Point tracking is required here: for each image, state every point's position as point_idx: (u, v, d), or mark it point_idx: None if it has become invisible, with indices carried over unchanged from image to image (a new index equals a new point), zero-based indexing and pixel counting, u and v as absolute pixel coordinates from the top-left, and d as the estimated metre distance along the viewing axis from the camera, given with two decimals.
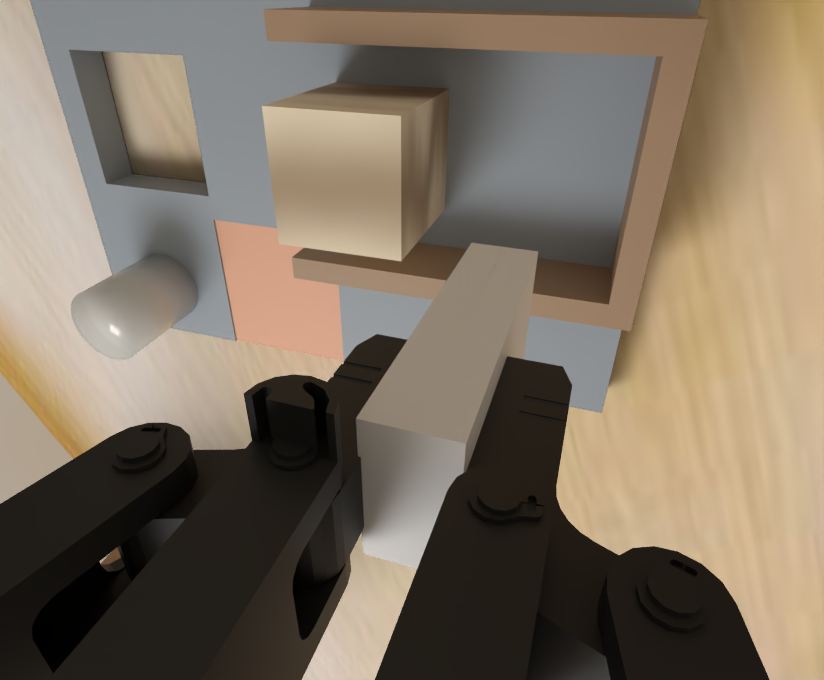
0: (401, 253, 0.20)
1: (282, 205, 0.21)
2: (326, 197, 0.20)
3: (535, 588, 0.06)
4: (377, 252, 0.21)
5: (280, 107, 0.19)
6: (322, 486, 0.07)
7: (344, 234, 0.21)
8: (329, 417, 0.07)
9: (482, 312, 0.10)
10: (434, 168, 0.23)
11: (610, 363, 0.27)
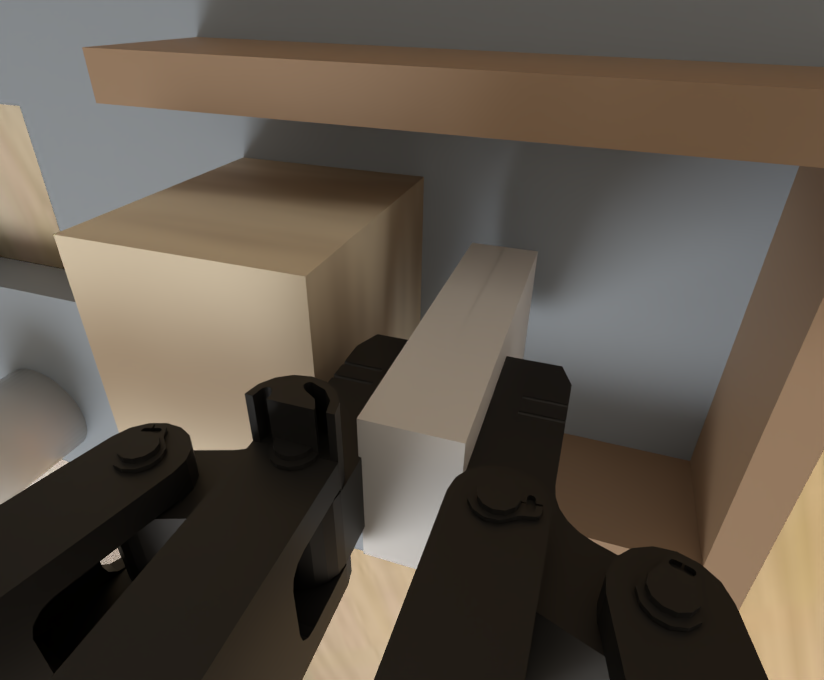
0: None
1: (118, 393, 0.12)
2: (186, 391, 0.11)
3: (534, 588, 0.06)
4: None
5: (86, 239, 0.10)
6: (323, 486, 0.07)
7: None
8: (330, 417, 0.07)
9: (482, 312, 0.10)
10: (397, 309, 0.14)
11: None
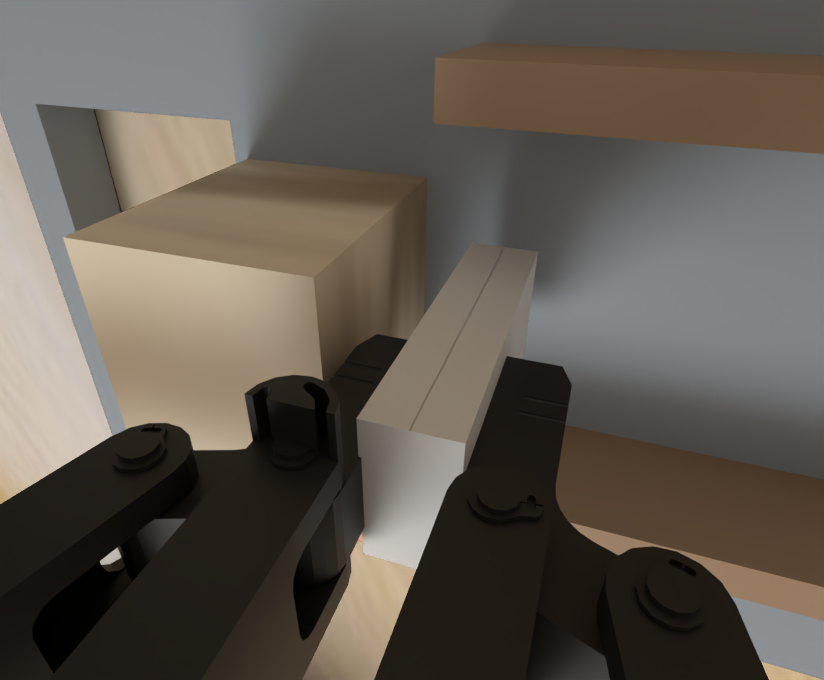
0: None
1: (127, 394, 0.12)
2: (195, 392, 0.11)
3: (534, 588, 0.06)
4: None
5: (95, 242, 0.10)
6: (323, 486, 0.07)
7: (233, 449, 0.12)
8: (330, 417, 0.07)
9: (482, 312, 0.10)
10: (402, 309, 0.14)
11: None
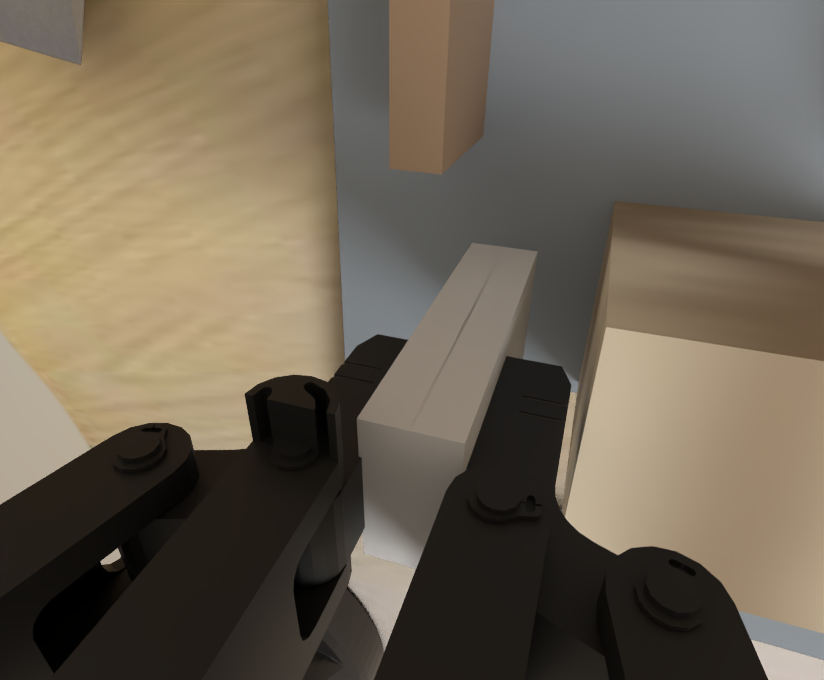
0: None
1: (769, 604, 0.09)
2: (772, 521, 0.09)
3: (534, 588, 0.06)
4: None
5: None
6: (323, 486, 0.07)
7: None
8: (330, 417, 0.07)
9: (481, 312, 0.10)
10: (763, 244, 0.11)
11: None
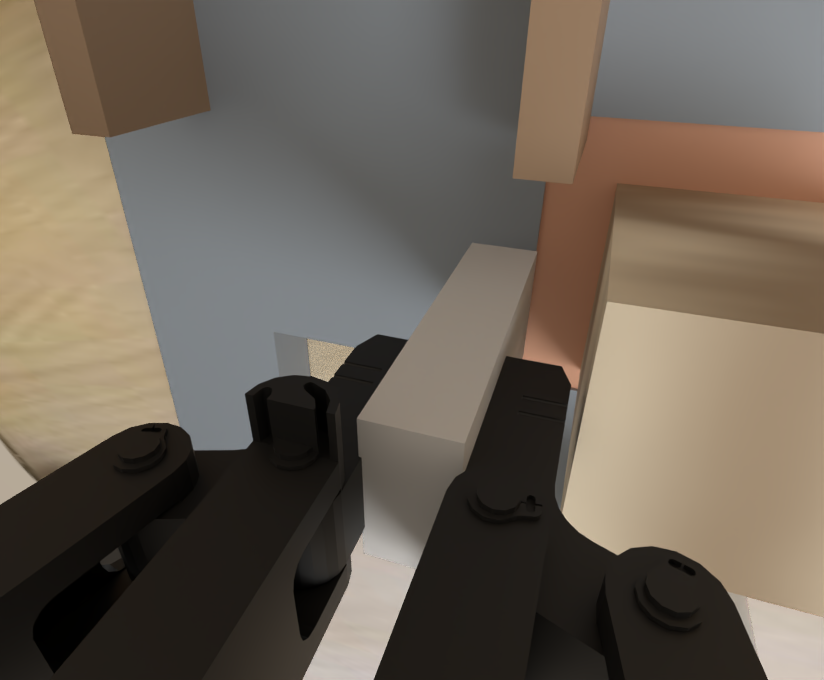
0: None
1: (773, 588, 0.09)
2: (776, 502, 0.08)
3: (534, 588, 0.06)
4: None
5: None
6: (323, 486, 0.07)
7: None
8: (330, 417, 0.07)
9: (481, 312, 0.10)
10: (768, 225, 0.10)
11: None
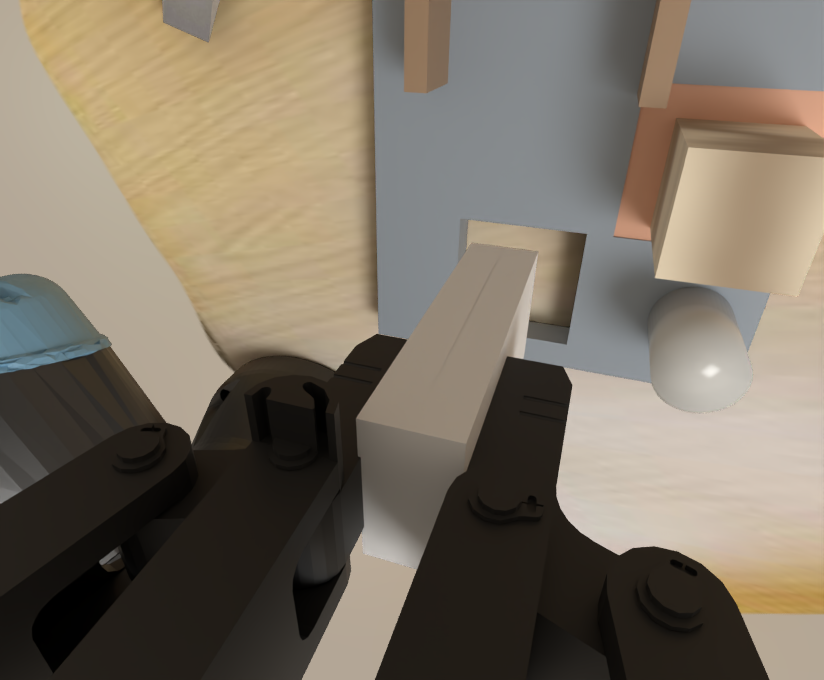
0: None
1: (754, 282, 0.21)
2: (755, 234, 0.20)
3: (535, 588, 0.06)
4: None
5: (659, 261, 0.22)
6: (322, 486, 0.07)
7: (801, 222, 0.20)
8: (329, 417, 0.07)
9: (482, 312, 0.10)
10: (752, 130, 0.22)
11: None
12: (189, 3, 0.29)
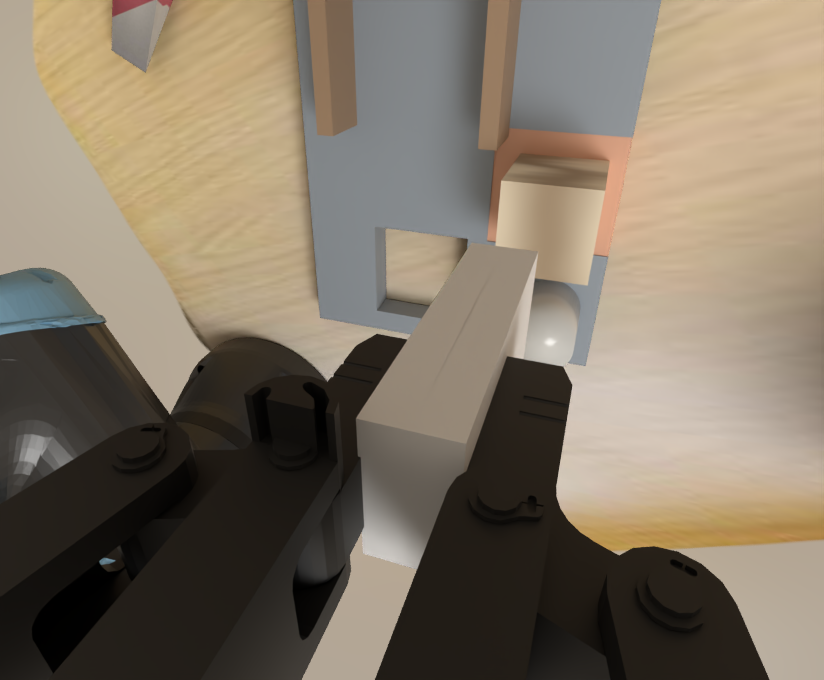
0: (598, 189, 0.27)
1: (558, 275, 0.30)
2: (553, 241, 0.29)
3: (535, 588, 0.06)
4: (597, 209, 0.27)
5: None
6: (322, 486, 0.07)
7: (581, 233, 0.28)
8: (329, 417, 0.07)
9: (482, 312, 0.10)
10: (564, 165, 0.31)
11: None
12: (132, 42, 0.38)
